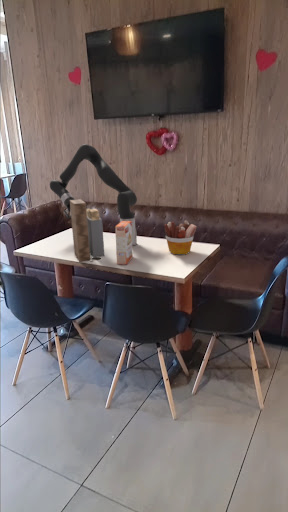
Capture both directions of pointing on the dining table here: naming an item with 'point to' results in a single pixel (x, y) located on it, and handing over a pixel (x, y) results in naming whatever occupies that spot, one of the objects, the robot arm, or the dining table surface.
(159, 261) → the dining table surface
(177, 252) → the bucket of meat
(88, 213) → the tan wooden molding strip
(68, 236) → the dining table surface
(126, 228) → the cracker box
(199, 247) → the dining table surface
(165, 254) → the dining table surface
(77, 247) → the wooden block
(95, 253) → the step
